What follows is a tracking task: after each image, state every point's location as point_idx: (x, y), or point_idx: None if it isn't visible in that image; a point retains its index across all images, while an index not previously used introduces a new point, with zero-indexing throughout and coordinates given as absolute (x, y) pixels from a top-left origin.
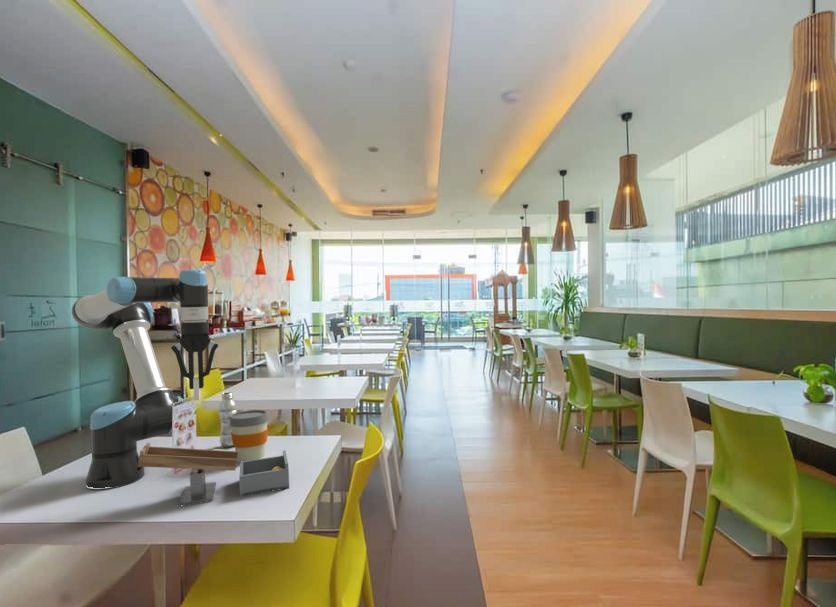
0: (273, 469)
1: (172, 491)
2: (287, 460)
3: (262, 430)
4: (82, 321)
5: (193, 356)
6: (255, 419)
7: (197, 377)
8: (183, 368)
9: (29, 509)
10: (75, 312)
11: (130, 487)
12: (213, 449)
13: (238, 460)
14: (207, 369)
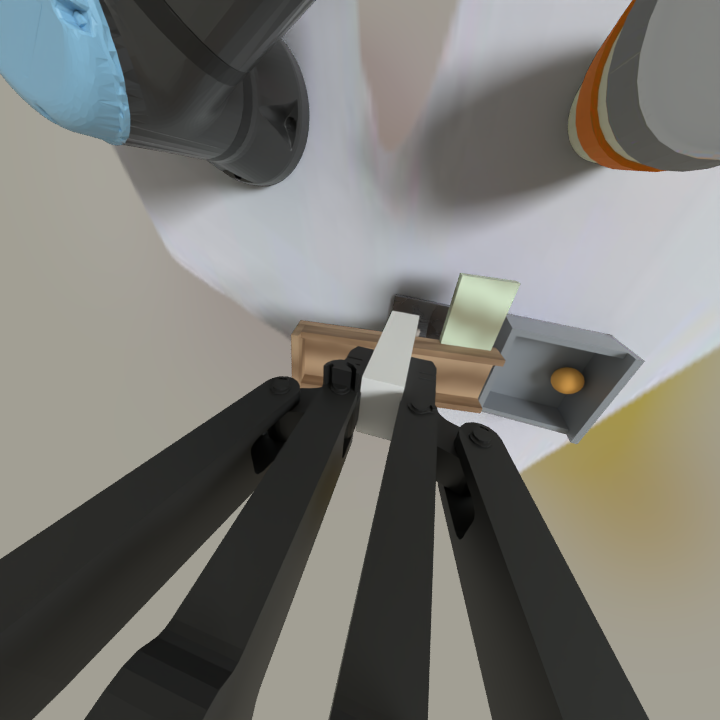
0: (560, 387)
1: (374, 286)
2: (588, 429)
3: None
4: None
5: (256, 639)
6: None
7: (387, 398)
8: (249, 483)
9: (172, 219)
10: None
11: (297, 202)
12: (461, 279)
13: (568, 129)
14: (461, 523)
